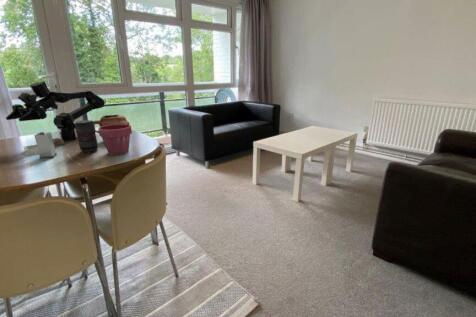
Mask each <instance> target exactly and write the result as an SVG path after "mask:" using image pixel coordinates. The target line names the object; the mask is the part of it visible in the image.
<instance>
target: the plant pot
mask: <svg viewBox="0 0 476 317" xmlns="http://www.w3.org/2000/svg"><path fill="white" fill-rule="evenodd" d="M97 129H98V130H97V131H99V133H98V135H99V137H101V139H102V142H103V143H104V146H105V148H106V149H105V150H107V153H108V155H111V156H120V155H125V154H127V153H129V150H130V140H131V135H132V131H133V130H132V126H131V125H130V124H129V125H127V124H113V125H105V126H101V127H100V126H99V127H98V128H97Z"/></svg>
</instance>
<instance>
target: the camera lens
mask: <svg viewBox="0 0 476 317" xmlns="http://www.w3.org/2000/svg"><path fill="white" fill-rule="evenodd" d="M93 121H94V120H92V119H91V120H89V119H87V120H86V119H85V120H79V121H74V124H75V128H76V129H75V134H76V136H77V142H78V147H79V150H80V151H81V153H82V154H92V153H96V152H97V151H98V147H99V146H98V145H99V144H98V139H97V135H96V134H97V132H95V130H96V126H95V125H96V124H95V125H94V122H93Z"/></svg>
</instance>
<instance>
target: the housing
mask: <svg viewBox="0 0 476 317" xmlns="http://www.w3.org/2000/svg"><path fill="white" fill-rule="evenodd" d="M34 139H35V143H36V145H37V147H38V151H39V154H38V155H39V160H48V159H54V158H55V157H56V156H58V154H57V151H56V149H55V148H56V147H54V143H53V139H54V138H53V135H52V132H51V131H50V132H47V131H42V132H38V133H37V134H34Z"/></svg>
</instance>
